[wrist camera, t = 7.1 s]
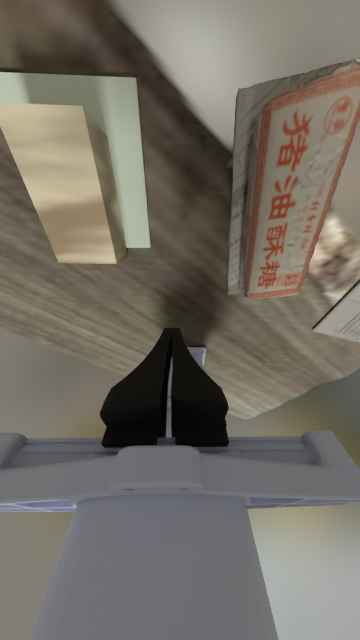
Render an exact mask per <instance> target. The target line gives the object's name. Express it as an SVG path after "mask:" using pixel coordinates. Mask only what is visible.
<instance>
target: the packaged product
mask: <svg viewBox="0 0 360 640" xmlns="http://www.w3.org/2000/svg"><path fill="white" fill-rule="evenodd" d="M359 118H360V58H357V59H353V60H350V61H348V62H344V63H338V64H334V65H330V66H327V67H323V68H320V69H317V70H313V71H310V72H307V73H302V74H297V75H293V76H290V77H284V78H280V79H275V80H271V81H267V82H264V83H259V84H255V85H253V86H251V87H250V88H242V89H239V90H238V94H237V97H236V108H235V127H234V145H233V186H232V201H231V217H230V229H229V263H228V291H227V295H234V294H242V293H244V295H245V297H247V298H257V299H263V298H269V297H274V296H276V297H285V296H288V295H298V294H299V293H300V289H301V285H302V283H303V280H304V278H305V275H306V272H307V271H308V267H309V263H310V260H311V258H312V255H313V254H314V249H315V245H316V243H317V241H318V237H319V235H320V232H321V229H322V226H323V223H324V219H325V218H326V213H327V212H328V210H329V207H330V203H331V200H332V197H333V194H334V192H335V189H336V186H337V183H338V179H339V176H340V174H341V170H342V167H343V165H344V163H345V160H346V157H347V154H348V151H349V148H350V145H351V142H352V139H353V136H354V133H355V129H356V125H357V123H358V120H359Z"/></svg>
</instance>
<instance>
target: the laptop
mask: <svg viewBox="0 0 360 640" xmlns="http://www.w3.org/2000/svg"><path fill="white" fill-rule="evenodd" d="M312 331H314V332H318V333H322V334H326V335H330V336H334V337H338V338H343V339H347V340H351V341H355V342H359V343H360V282H359V283H358V284H357V285H356V286H355V287H354V288H353V289H352V291H351V292H350V293H349V294H348V295H347V296H346V297H345V298H344V299H343V300H342V301H341V302H340V303H339V304H338V305H337V306H336V307H335V308H334V309H333V310H332V311H331V312H330V313H329V314H328V315H327V316H326V317H325V318H324V319H323V320H322V321H321V322H320V323H319V324H318V325H317V326H316V327H315V328H314V329H313V330H312Z"/></svg>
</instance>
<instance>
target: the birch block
mask: <svg viewBox="0 0 360 640" xmlns="http://www.w3.org/2000/svg"><path fill="white" fill-rule="evenodd" d="M0 127H1V129H2V132H3V134H4V136H5V139H6V141H7V143H8V146H9V148H10V150H11V153H12V155H13V157H14V160H15V162H16V164H17V167H18V169H19V171H20V174H21V176H22V178H23V181H24V183H25V185H26V188H27V190H28V192H29V195H30V197H31V199H32V202H33V204H34V206H35V209H36V211H37V213H38V216H39V218H40V220H41V223H42V225H43V227H44V230H45V232H46V234H47V237H48V239H49V241H50V244H51V246H52V248H53V251H54V253H55V255H56V258H57V260H58V262H59V263H97V264H117V263H119V262H120V261H122V260H123V259H125V258H127V257H128V255H127V249H126V243H125V237H124V231H123V225H122V220H121V214H120V208H119V202H118V196H117V190H116V184H115V179H114V173H113V167H112V161H111V155H110V149H109V143H108V138H107V136H106V134H105V133H104V132H103V131H102V129H101V128H100V127H99V126H98V124H97V123H96V122H95V121H94V119H93V118H92V117H91V116H90V114H89V113H88V112H87V111H86V109H85V108H84V107H83V106H74V105H46V104H19V103H0Z"/></svg>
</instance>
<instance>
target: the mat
mask: <svg viewBox="0 0 360 640" xmlns="http://www.w3.org/2000/svg"><path fill="white" fill-rule="evenodd" d="M0 103H19V104H46V105H74V106H83V107H84V108H85V109H86V111H87V112H88V113H89V114H90V116H91V117H92V118H93V119H94V121H95V122H96V123H97V124H98V126H99V127H100V128H101V129H102V131H103V132H104V133H105V134H106V136H107V138H108V143H109V149H110V155H111V161H112V167H113V173H114V179H115V184H116V190H117V196H118V202H119V208H120V214H121V220H122V225H123V231H124V237H125V243H126V248H151V243H150V231H149V220H148V208H147V196H146V184H145V173H144V161H143V149H142V137H141V126H140V114H139V102H138V90H137V80H136V78H132V77H108V76H83V75H59V74H35V73H10V72H0Z"/></svg>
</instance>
